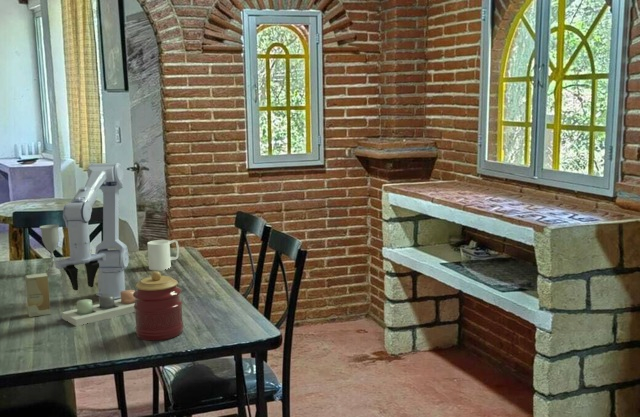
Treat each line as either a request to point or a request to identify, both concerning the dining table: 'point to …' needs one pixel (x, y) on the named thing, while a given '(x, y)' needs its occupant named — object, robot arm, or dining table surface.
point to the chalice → (51, 244)
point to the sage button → (84, 306)
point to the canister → (158, 308)
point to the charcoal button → (106, 301)
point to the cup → (160, 254)
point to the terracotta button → (127, 296)
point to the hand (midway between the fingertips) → (83, 288)
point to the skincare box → (37, 294)
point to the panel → (98, 313)
